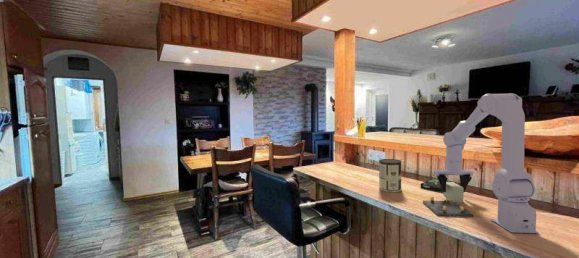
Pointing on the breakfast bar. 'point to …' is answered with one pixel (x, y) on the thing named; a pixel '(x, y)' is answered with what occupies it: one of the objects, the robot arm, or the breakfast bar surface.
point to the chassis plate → (447, 208)
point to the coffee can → (390, 175)
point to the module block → (454, 191)
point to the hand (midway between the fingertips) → (453, 191)
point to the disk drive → (432, 185)
